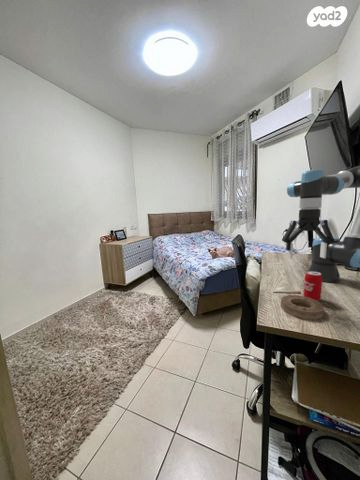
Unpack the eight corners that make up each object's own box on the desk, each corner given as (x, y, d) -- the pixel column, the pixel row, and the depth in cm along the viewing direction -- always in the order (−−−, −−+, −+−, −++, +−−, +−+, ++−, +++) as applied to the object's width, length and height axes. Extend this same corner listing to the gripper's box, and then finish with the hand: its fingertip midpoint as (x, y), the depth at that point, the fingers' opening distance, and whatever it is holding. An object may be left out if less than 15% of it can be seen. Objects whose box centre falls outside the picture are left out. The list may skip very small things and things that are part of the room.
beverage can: (304, 294, 89) (306, 269, 87) (320, 298, 85) (323, 272, 83) (302, 299, 84) (304, 273, 82) (319, 303, 80) (322, 276, 79)
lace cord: (299, 292, 91) (299, 290, 91) (300, 293, 90) (300, 291, 90) (272, 291, 93) (272, 289, 93) (272, 292, 92) (273, 290, 92)
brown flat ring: (310, 301, 82) (310, 295, 82) (331, 320, 68) (332, 312, 68) (276, 300, 84) (276, 294, 83) (290, 318, 70) (290, 311, 70)
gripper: (335, 207, 83) (330, 255, 86) (275, 209, 85) (273, 255, 89) (348, 207, 76) (343, 259, 79) (282, 209, 78) (280, 260, 81)
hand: (306, 257), depth 84 cm, fingers open, 13 cm apart
